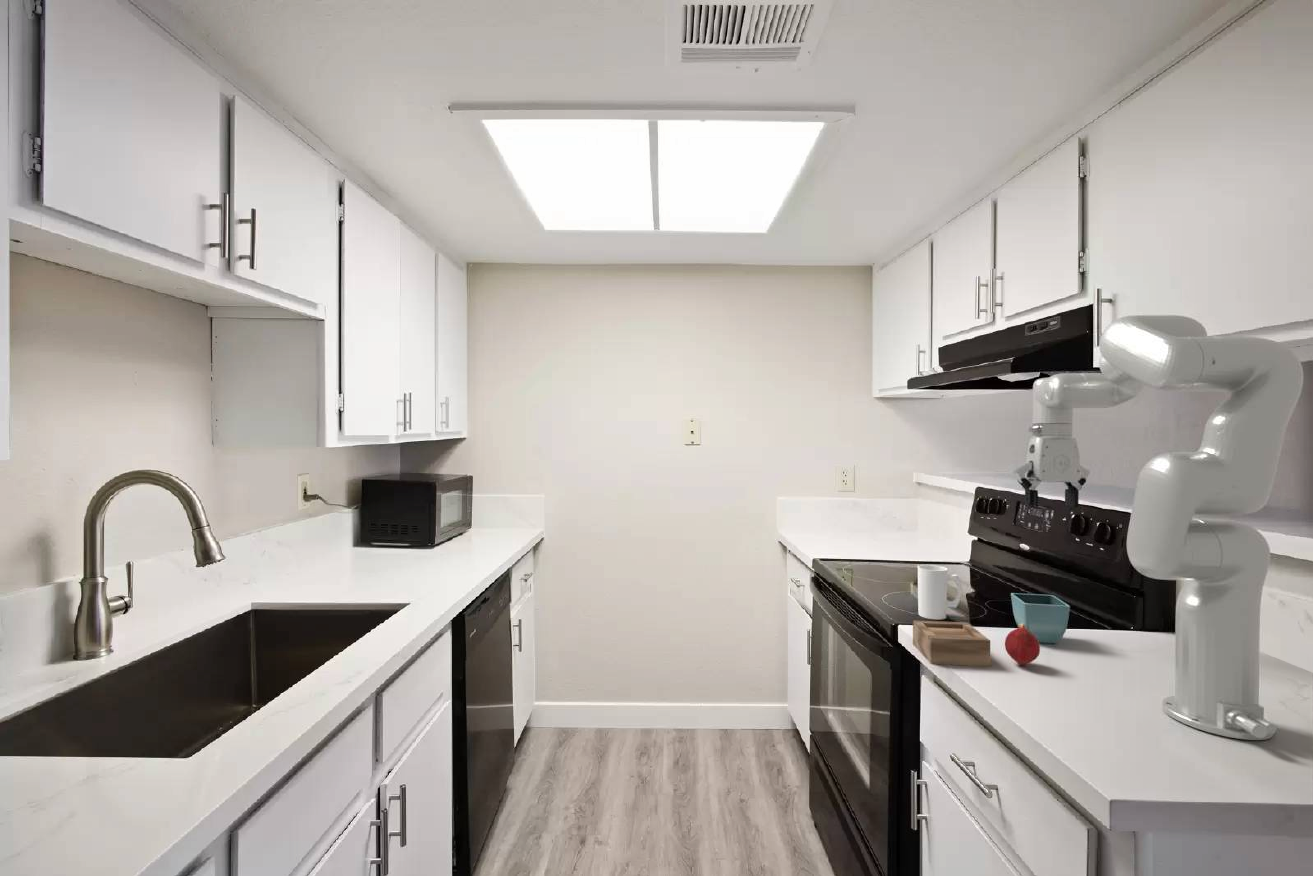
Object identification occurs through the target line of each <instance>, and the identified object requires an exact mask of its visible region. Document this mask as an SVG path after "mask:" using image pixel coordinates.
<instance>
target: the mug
mask: <svg viewBox="0 0 1313 876" xmlns="http://www.w3.org/2000/svg"><path fill="white" fill-rule="evenodd" d="M949 581H952V582H954V583H955V585H956V586H957V594H956V596H955V598H954V599H953V600H948V595H947V594H948V582H949ZM963 588H964V587H963V585H962V583H961V580H960V578H959V575H958V574H951V575H949V574H948V568H947V567H945V566H941V565H937V564H936V565H935V564H921V565H920V564H919V565H917V606H918V607H917V609H918V610H917V611H918V612H917V614H918V616H920V617H922V618H924V619H929V620H933V621H939V620H945V619H947V609H948V608H954V609H955V608H957V607H958V605H959V603H960V601H961V599H962V596H963V592H964V589H963Z"/></svg>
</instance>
